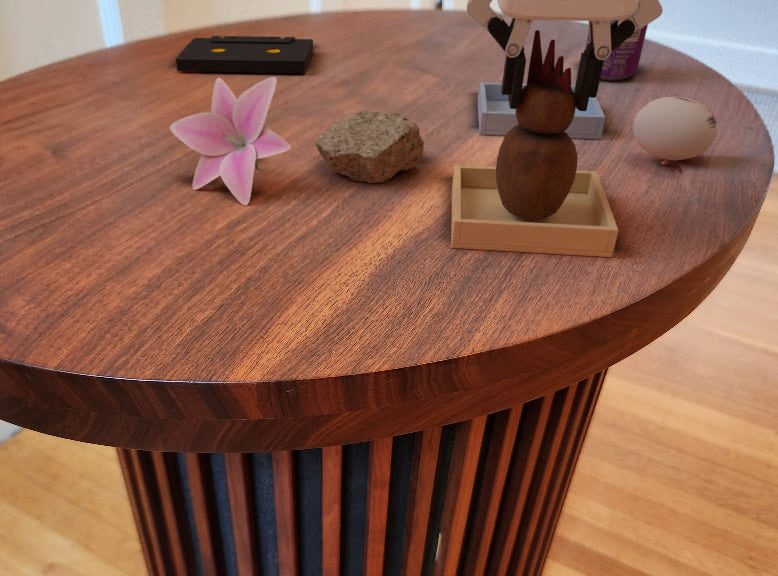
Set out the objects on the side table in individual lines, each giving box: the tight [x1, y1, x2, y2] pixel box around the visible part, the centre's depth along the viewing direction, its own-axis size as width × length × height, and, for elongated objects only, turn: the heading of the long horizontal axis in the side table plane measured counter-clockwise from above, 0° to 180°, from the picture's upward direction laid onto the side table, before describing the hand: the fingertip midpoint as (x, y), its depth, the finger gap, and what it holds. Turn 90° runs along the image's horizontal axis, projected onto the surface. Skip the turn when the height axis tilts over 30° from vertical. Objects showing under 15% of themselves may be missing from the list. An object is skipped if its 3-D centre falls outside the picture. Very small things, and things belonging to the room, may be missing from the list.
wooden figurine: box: [495, 29, 578, 220], centre depth 65 cm, size 7×6×15 cm
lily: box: [169, 76, 292, 206], centre depth 75 cm, size 12×12×10 cm
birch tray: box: [450, 164, 619, 258], centre depth 69 cm, size 13×12×2 cm
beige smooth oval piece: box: [632, 95, 718, 166], centre depth 78 cm, size 8×6×7 cm
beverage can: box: [584, 20, 649, 81], centre depth 101 cm, size 7×7×12 cm
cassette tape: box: [175, 35, 314, 74], centre depth 111 cm, size 18×12×2 cm, turn 84°
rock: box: [314, 110, 425, 184], centre depth 77 cm, size 10×8×8 cm
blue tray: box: [477, 81, 606, 140], centre depth 90 cm, size 13×11×2 cm
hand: (546, 102), depth 63 cm, fingers closed on wooden figurine, 4 cm apart
